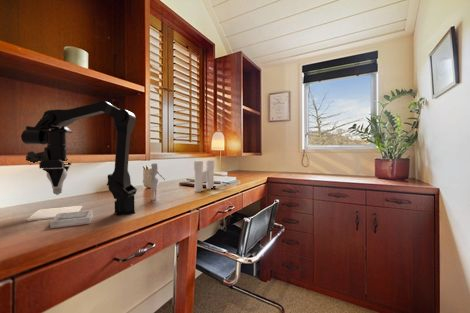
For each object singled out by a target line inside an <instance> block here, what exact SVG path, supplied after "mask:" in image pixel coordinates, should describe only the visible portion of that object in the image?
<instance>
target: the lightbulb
mask: <svg viewBox="0 0 470 313" xmlns="http://www.w3.org/2000/svg"><path fill="white" fill-rule="evenodd" d="M67 176H68V171H66V169H64V172H63V174H62V177H61V179H60V182H59V184H58V186H57V187H54V186H53V183H52V181H51V178H50V175H49V173H48V172H46V178H47V179H48V181H49V182H50V185H51V188H52V192H53V194H54V195H56V196H59V195H60V194H62V192H63V185H64V181H65V180H66V178H67Z"/></svg>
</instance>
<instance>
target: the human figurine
mask: <svg viewBox="0 0 470 313" xmlns="http://www.w3.org/2000/svg"><path fill="white" fill-rule="evenodd" d="M157 175H159V177H161V178H162V179H163V181H165V180H166V179H165V177H163V175H161V174H160V172H159V171H158V164H157V163H151V170H150V172H149V173H148V175H147V176H146V177H145V178H144V179H143V180H142V184H144V183H145V181H146V180H147V179H148V178H149V177H150V176H151V178H150V181H149V185H150V189H151V192H150V193H151V199H150V201H157V187H158V185H159V184H158V182H159V178H157V177H156V176H157Z"/></svg>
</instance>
